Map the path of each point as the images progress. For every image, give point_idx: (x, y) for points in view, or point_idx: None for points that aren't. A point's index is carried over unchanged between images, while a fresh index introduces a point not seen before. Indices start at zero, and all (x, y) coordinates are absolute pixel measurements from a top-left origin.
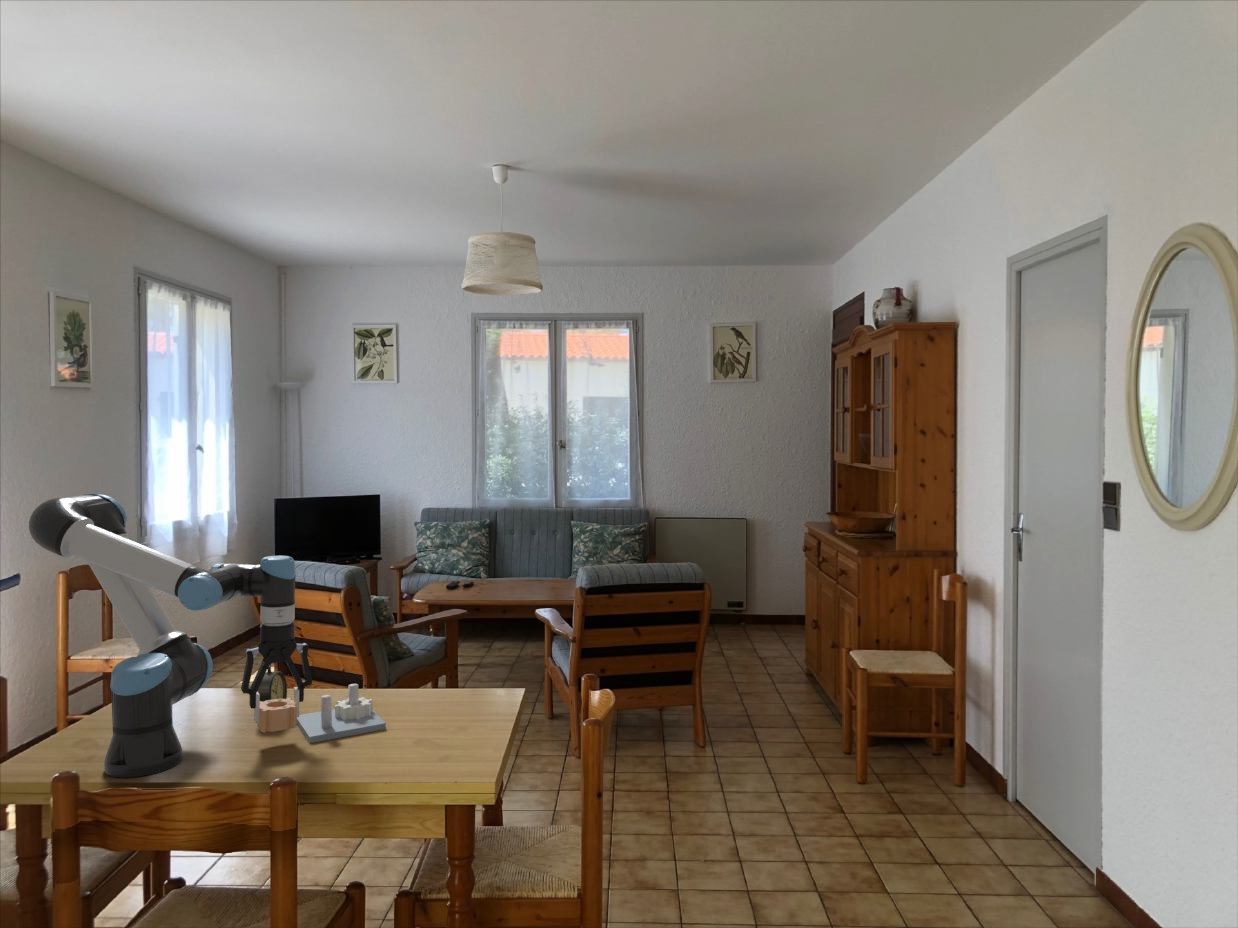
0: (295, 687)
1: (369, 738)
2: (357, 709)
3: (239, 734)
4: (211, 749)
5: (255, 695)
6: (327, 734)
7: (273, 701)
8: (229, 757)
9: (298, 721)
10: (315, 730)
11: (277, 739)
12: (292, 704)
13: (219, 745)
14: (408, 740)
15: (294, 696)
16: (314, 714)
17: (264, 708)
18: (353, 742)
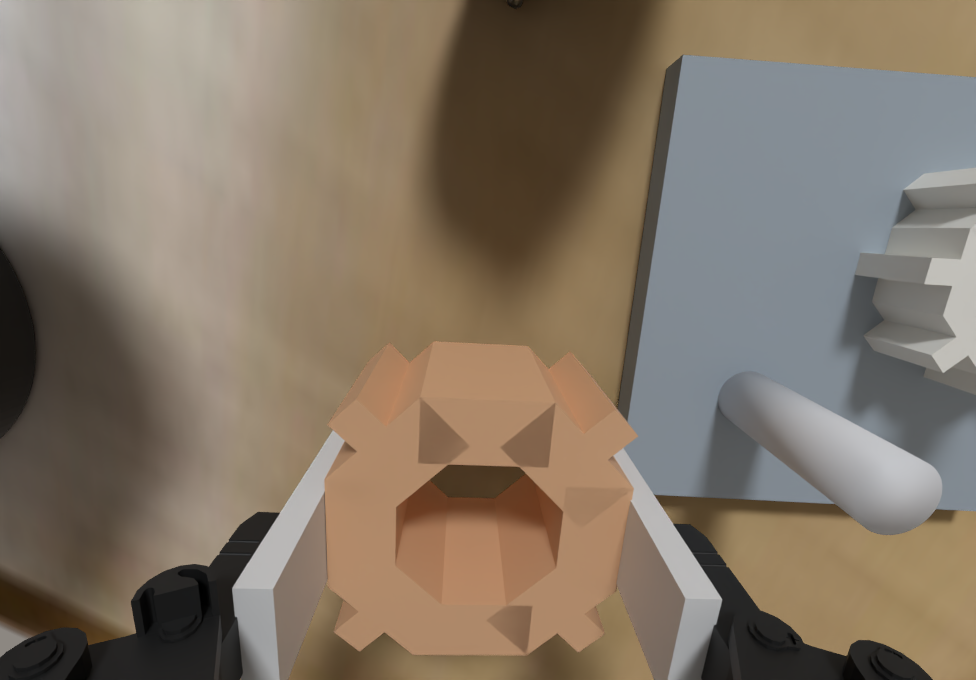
0: (697, 609)
1: (839, 562)
2: None
3: (328, 115)
4: (173, 286)
5: (242, 663)
6: (702, 493)
7: (469, 453)
8: (253, 448)
9: (661, 183)
10: (675, 418)
11: (494, 334)
12: (587, 588)
13: (213, 246)
14: (941, 664)
15: (642, 561)
16: (790, 114)
17: (363, 599)
18: (763, 569)
